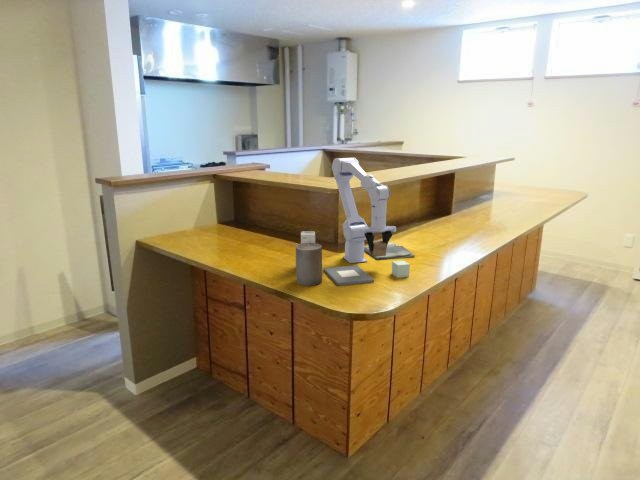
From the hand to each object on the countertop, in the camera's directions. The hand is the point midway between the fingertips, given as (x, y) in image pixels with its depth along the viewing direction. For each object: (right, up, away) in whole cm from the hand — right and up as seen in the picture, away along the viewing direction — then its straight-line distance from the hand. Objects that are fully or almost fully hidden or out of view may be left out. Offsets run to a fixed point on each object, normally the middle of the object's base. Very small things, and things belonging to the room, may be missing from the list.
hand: (377, 250), depth 179 cm
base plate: (-12, -10, -6) cm, 17 cm away
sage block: (+8, -10, -5) cm, 14 cm away
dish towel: (+8, -3, +24) cm, 26 cm away
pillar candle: (-27, -12, -12) cm, 32 cm away
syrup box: (-28, -7, +4) cm, 29 cm away
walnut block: (0, -2, 0) cm, 2 cm away
